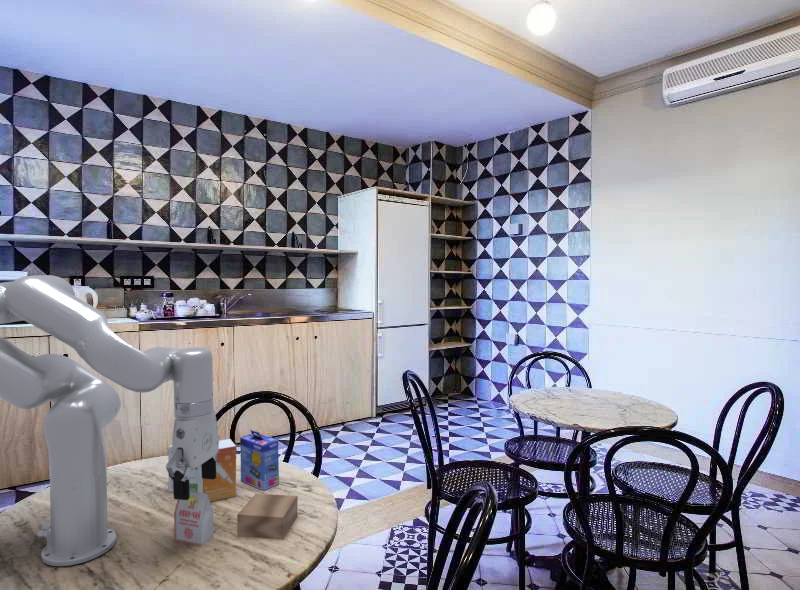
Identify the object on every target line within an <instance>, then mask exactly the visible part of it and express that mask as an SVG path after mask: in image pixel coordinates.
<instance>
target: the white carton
mask: <svg viewBox="0 0 800 590" xmlns="http://www.w3.org/2000/svg"><path fill="white" fill-rule="evenodd" d="M173 519H174V521H173V522H174V523H173V529H174V530H173V534H174V537H173V538H174V539H173V540H174V541H175V542H180V543H184V544H190V545H195V546H200V547H202V546H204V545H205V544H206V543H208V542H209V541H210V540H211V539H213V538H214V508H213V506H212V504H211V502H210V501H209V498H208V494H204V493H198V492H192V491H190V498H189V499H188V500H179V499H177V502H176V505H175V508H174V512H173Z"/></svg>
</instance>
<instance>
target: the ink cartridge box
mask: <svg viewBox="0 0 800 590" xmlns="http://www.w3.org/2000/svg"><path fill="white" fill-rule="evenodd" d="M249 431H250V433H249V434H247V435H243V436H241V437H240V438H239V442H240V443H239V444H240V446H239V447H240V452H239V453H240V482H242V483H245V484H247V485H250V486H252V487H254V488H256V489H258V490H260V491H262V490H263V491H267V490H268V489H271V488H273V487H275V486H278V485H279V484H280V469H279V465H280V463H279V459H280V458H279V440H278V439H276V438H274V437H270V436H267V435H264V434H261V433H260V432H259V431H255V430H252V429H249Z"/></svg>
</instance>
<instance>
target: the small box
mask: <svg viewBox="0 0 800 590" xmlns="http://www.w3.org/2000/svg"><path fill="white" fill-rule="evenodd" d="M214 461H216V478H215V479H203V478H202V469H201V465H200V466H198V472H197V481H198V493H204V494H208V498H209V501H210V503H211V502H215V501H219V500H220V501H221V500H224V499H229V498H236V495H237V445H236V444H235V443H234V442H233V441H232V439H231V438H227V439H220V440H219V450H218V452H217V459H216V460H214Z"/></svg>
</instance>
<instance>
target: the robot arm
mask: <svg viewBox="0 0 800 590" xmlns="http://www.w3.org/2000/svg"><path fill="white" fill-rule="evenodd" d="M22 321H24V322H26V323H28V324H30V325H32V326H34V327H35V328H37V329H39V330H41V331H43V332H45V333H46V334H47V335H50V336H52V337H53V338H55V339H57V340H58V341H59V342H62V343H63V344H65V345H67V346H69V347H70V348H72V349H73V350H74V351H75V352H76V353H77V355H78V356H79V357H80V359H82V360H83V361H84V362H85V363H86V364H87V365H88V366H89V367H91V369H93V370H94V371H95V372H96V373H98V374H99V375H101V376H103V377H104V378H106V379H107V380H110V381H111V382H113V383H114V384H116V385H119V386H120V387H122V388H125V389H126V390H129V391H132V392H134V393H135V392H136V393H141V394H143V393H144V394H145V393H149V392H152V391H155V390H157V389H158V388H159V387H161V386H162V385H163V384H165V383H167V382H170V381H172V382H173V411H174V414H173V415H174V422H173V430H172V444H171V445H172V457H171V459H170V460H169V462H168V461H167V463H166V465H165V469H166V470H167V474H168V478H169V477H171V480H172V481H173V492H172V493H173V499H174V500H178V499H179V500H188V499H189V498H190V488H189V479H187V477H188V475H189V472H190V469H191V468H197V467H198V466H200V465H201V469H202V478H203V479H215V478H216V461H214V460H216V459H217V452H218V450H219V441H220V440H221V439H220V438H221V436H220V435H219V433H218V432H219V431H218V422H217V417H216V412H215V409H214V384H213V382H214V381H213V380H214V377H213V371H214V370H213V368H214V367H213V354H212V352H211V350H210V349H209V348H206V347H187V348H186V347H185V348H172V347H171V348H170V347H161V346H159V347H157V346H156V347H151V348H148V349H147V350H144V351H142V350H140V349H138V348H137V347H135V346H134V345H131V344H130V343H128V342H127V341H125V340H123V338H121V337H119V335H117V333H115V332H114V331H113V330H112V329H111V327H110V325H109V323H108V318H107V316H106V314H105V313H104V312H103V311H101V310H100V309H98V308H96V307H95V306H93V305H91V304H89V303H88V302H86V301H84V300H83V299H81V298H79V297H77V295H76V292H75V290H74V288H73V286H72V284H71V283H70V282H68V281H67V280H65V279H64V278H62V277H60V276H56V275H51V274H49V275H47V274H46V275H45V274H44V275H41V274H40V275H38V274H37V275H34V274H33V275H25V276H21V277H18V278H16V279H14V280H12V281H4V282H0V325H2V324H3V325H4V324H9V323H14V322H22ZM0 398H2V399H3V400H4V401H6V402H8V403H9V404H10V405H12V406H14V407H16V408H18V409H22V410H33V409H36V408H39V407H41V406H43V405H45V404H48V403H52V404H53V405H52V406H51V407H50V408H49V410H48V411H47V413H46V415H45V417H44V421H43V432H44V438H45V443H46V446H47V454H48V464H49V466H48V467H49V471H48V472H49V496H50V499H49V500H50V501H49V502H50V521H46V522H44V523H43V525H42V527H41V529H39V530H38V532H36V533H37V534H36V536H37V538H40V539H46V545H45V546H44V547H43V548H42V550H41V554H40V556H41V561H42V563H43V564H45V565H48V566H53V567H68V566H69V567H70V566H75V565H78V564H83V563H86V562H89V561H92V560H93V559H96V558H99V557H101V556H102V555H104V554H106V553H107V552H109V550H111V549H112V548H113V547H114V545H115V544H116V542H117V534H116V532H115V530H114V529H111V528H109V527H108V480H107V479H108V477H107V474H108V471H107V469H108V468H107V449H106V446H105V441H104V438H103V429H104V428H105V427H106V426H108V425H109V424H110V423H111V422H112V421H113V420H114V419H115V418H116V417H117V416H118V415H119V413H120V409H121V406H122V405H121V402H122V401H121V397H120V395H119V394H118V391H116V389H115V388H114V387H112V386H111V385H110V384H109V383H107V382H106V381H105V380H103V379H102V378H100V377H99V376H97V375H96V374H94V373H93V372H91V371H90V370H89V369H87V368H86V367H84V366H83V365H81V364H80V363H79V362H76V361H75V360H73V359H72V358H70V357H68V356H65V355H63V354H58V353H45V354H41V355H36V356H32V355H30V353H29V354H28V353H27V352H25V351H24V350H22V349H21V348H18V346H16V345H15V344H13V343H12V342H10V341H9V340H7V339H5V338H3V337H2V336H0ZM184 463H186V464H184ZM181 468H183V469H184V472H183V474H182V473H181V472H180V469H181Z"/></svg>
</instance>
